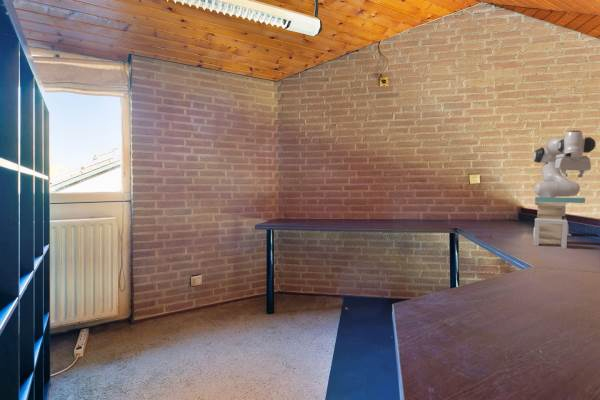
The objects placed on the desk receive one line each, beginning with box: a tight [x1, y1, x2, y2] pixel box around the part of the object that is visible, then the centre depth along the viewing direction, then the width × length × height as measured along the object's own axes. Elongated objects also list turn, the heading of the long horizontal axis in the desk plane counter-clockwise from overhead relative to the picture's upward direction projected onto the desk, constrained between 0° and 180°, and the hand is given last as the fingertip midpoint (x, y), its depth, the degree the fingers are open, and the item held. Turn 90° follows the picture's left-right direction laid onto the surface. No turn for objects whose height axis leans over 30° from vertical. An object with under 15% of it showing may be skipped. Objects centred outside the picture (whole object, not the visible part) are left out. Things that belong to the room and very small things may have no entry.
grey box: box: [533, 217, 569, 249], centre depth 189 cm, size 8×15×16 cm, turn 54°
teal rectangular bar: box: [534, 196, 586, 204], centre depth 196 cm, size 3×24×3 cm, turn 54°
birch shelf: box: [534, 201, 567, 245], centre depth 199 cm, size 8×15×26 cm, turn 54°
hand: (572, 177), depth 198 cm, fingers open, 8 cm apart
